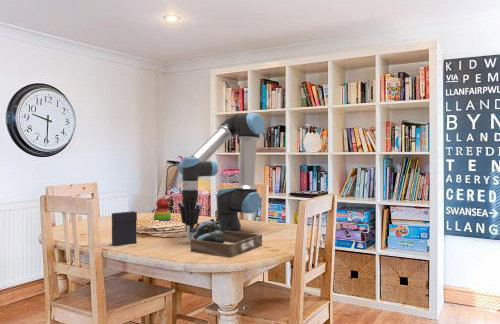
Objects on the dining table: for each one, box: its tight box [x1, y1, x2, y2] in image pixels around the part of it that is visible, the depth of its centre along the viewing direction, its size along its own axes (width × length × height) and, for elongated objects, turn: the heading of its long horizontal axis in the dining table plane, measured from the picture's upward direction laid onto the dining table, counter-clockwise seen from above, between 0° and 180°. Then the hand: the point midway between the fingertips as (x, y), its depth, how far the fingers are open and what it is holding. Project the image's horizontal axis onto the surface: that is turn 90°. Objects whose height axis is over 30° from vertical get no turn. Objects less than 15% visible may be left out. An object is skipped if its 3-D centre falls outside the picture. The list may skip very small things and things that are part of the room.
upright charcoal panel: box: [111, 210, 138, 247], centre depth 208 cm, size 11×4×15 cm, turn 129°
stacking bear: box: [153, 197, 172, 222], centre depth 246 cm, size 11×10×18 cm
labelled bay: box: [190, 231, 263, 258], centre depth 200 cm, size 26×22×5 cm
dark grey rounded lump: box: [192, 218, 226, 244], centre depth 205 cm, size 15×12×14 cm
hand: (189, 238), depth 210 cm, fingers closed
